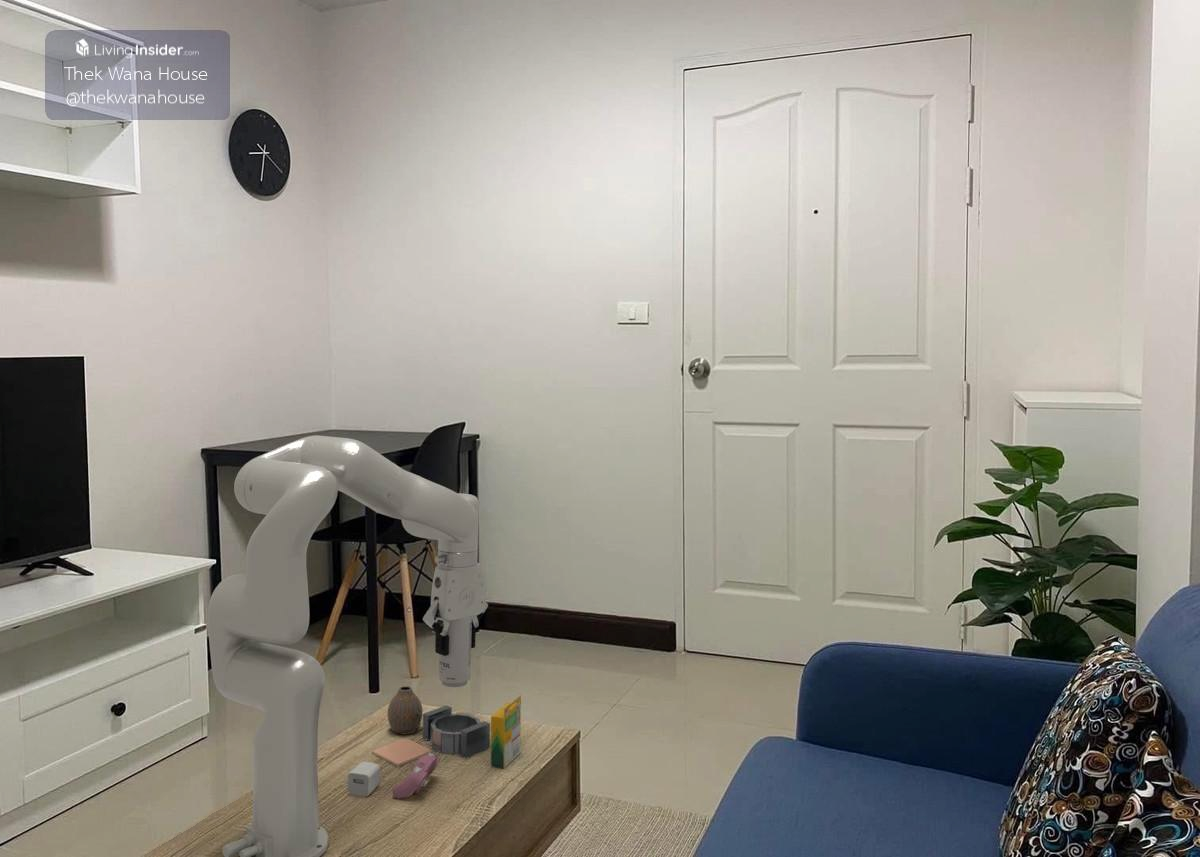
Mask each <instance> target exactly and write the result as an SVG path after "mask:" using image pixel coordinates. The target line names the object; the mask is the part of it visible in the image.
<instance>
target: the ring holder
mask: <svg viewBox="0 0 1200 857" xmlns="http://www.w3.org/2000/svg"><path fill="white" fill-rule="evenodd" d="M452 710H453V708H452V707H451V706H449V705H443V706H441V707H438V708H436V709H435V708H434V709H431V710H430V711H427V712H423V715H422V739H424V740H426V739H427V740H426V741H429V743H430V746H431V750H434V751H436V752H439V753H440V754H445V753H446V754H447V755H460V756H461V757H462V758H464V757H465V758H464V759H468V758H470V757H472V755H473V756H475V755H477V754H480V753H482V752H485V751H487V750H489V749H491V722H488V721H481V719H480V718H479V717H477V716H474V715H472V714H469V713H467V714H466V713H457V712H456V713H452ZM488 748H489V749H488ZM486 749H487V750H486ZM481 751H482V752H481ZM479 752H480V753H479ZM476 753H477V754H476ZM474 754H475V755H474ZM467 757H468V758H467Z"/></svg>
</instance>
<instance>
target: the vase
mask: <svg viewBox="0 0 1200 857" xmlns="http://www.w3.org/2000/svg"><path fill="white" fill-rule="evenodd" d="M412 688H413V687H411V686H410V685H402V686H400V687H399V688H398V691H397V692H396V693H395V695H394V696H393V697H392V699H391V701H390V702H389V705H388V709H387V720H388V721H387V722H388V724H389V726H390V728H391V729H392V730H393V731H394V732H395V733H397V734H399V733H400V734H401V735H408V733H409V734H412V733H414V732H415V731H416V730H418V728H419V727H420V725H421V723H422V721H423V714H424V712H423V710H424V709H423V706H422V702H421V700H420V698H419V697H418V696H417V694H416V693H415V692H414V691H413V689H412Z"/></svg>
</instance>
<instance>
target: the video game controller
mask: <svg viewBox="0 0 1200 857" xmlns="http://www.w3.org/2000/svg"><path fill="white" fill-rule="evenodd" d="M440 761H441V757H440V756H438V755H437V754H435V753H430V752H429V753H428V754H426V755H425V756H422V757H420V758H418V759H416V760H415V763H414V764H413V765H412V767H411V768H410V773H409V774H408V775H407V776H406V777H405V778H404V779H403V780H402V781H400V782H398V783H397V784H396V785H395V786H394V787H393V788H392V791H391V793H392V794H391V795H392V797H393V798H395V799H399V800H400V799H404V798H407V797H408V796H411V795H412V794H413V793H414V794H415V795H417V794H418V793H419V792H420V790H421V789H422V787H424V788H425V787H426V786H427V784H428V783H429V782H430V777H431V775H432V774H433V772H434V771H436V768H437V767H438V765H439V762H440Z"/></svg>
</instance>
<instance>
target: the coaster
mask: <svg viewBox="0 0 1200 857" xmlns="http://www.w3.org/2000/svg"><path fill="white" fill-rule="evenodd" d="M429 752H430V753H431V754H433V749H430V748H428V747H426V746H424V745H422V744H419V743H417V742H414V741H413V740H411V739H408V738H406V737H405V738H403V739H399V740H397V741H394V742H391V743H389V744H386V745H383V746H382V747H378V748H375V749H373V750H371V754H372V755H373V756H376V757H378V758H379V759H382V760H383V761H385V760H386V761H385V762H387V763H389V762H390V764H391V763H392V765H394V766H395V765H396V766H395V767H396V768H398V767H401V766H403V765H406V764H408V763H411V762H413V761H417V760H418V759H419V758H420V757H422V756H425V755H426V754H428V753H429Z"/></svg>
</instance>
